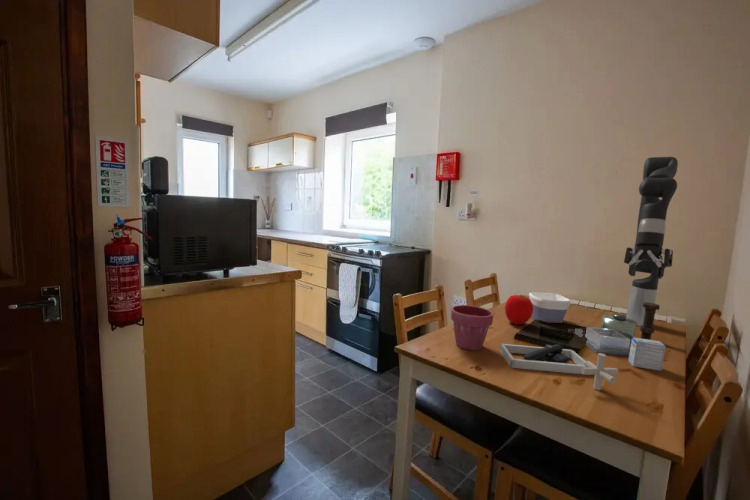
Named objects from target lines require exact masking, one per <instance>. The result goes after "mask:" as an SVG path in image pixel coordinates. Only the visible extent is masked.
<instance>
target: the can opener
mask: <svg viewBox="0 0 750 500" xmlns="http://www.w3.org/2000/svg"><path fill="white" fill-rule="evenodd" d="M543 347H544V348H541V349H538V350H535V351H533V352H530V353H528V354H523V356H522V358H523V360H533V361H544V362H547V361H549V362H555V363H566V364H567V363H568V362H569V360H570V358H569V357H567V356H566V355H565V354H563V353H561V352H562V350H563V349H564V348H563V346H562V345H561V344H557V343H556V344H552V345H551V344H545V345H544V346H543Z"/></svg>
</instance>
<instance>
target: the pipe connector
mask: <svg viewBox="0 0 750 500" xmlns="http://www.w3.org/2000/svg"><path fill="white" fill-rule="evenodd" d="M606 357H607V354H602V353H597V358H596V359H597V360H596V364H594V362H592V361H589V360H585V363H584V365H585V366H586V367H587V368H581V369H580V371H581V373H582V374H581V375H586V374H588V375H587V376H593V375H594V381H593V386H592V388H593V389H594V390H597V391H601V390H602V384H603V379H604V380H606V382H608V383H610V384H611V385H614V384H616V382H617V378H616V377H615V376H618V375H619V370H618V368H616V367H605V364H606Z"/></svg>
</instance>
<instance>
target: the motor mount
mask: <svg viewBox="0 0 750 500" xmlns="http://www.w3.org/2000/svg"><path fill="white" fill-rule="evenodd" d="M636 323H637V322H636V321H634V320H631V319H629V318H626V315H623V314H619V313H614V314H604V315H602V318H601V325H600V327H592V326H591V327H589V326H587V327H586V334H585V337H586V338H587V341H586V345H585V346H586V347H588V348H589V349H590V350H591V351H592V352H594V353H595V354H598V353H602V354H605V355H612V356H613V355H615V356H625V357H627V356H628V357H629V353H630V347H631V341H632V338H635V334H636V330H637V329H636V328H637V325H636ZM574 328H575V327H574ZM582 329H583V328H575V332H574V333H575V334H576V335H578V336H579V337H582V336H583V334H582V332H583V330H582Z"/></svg>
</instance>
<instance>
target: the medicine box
mask: <svg viewBox="0 0 750 500" xmlns="http://www.w3.org/2000/svg"><path fill="white" fill-rule="evenodd" d="M665 352H666V345H665V344H663V343H662V342H661V341H660V340H654V339H651V340H648V339H641V337H639V338H638V337H634V338H632V341H631V347H630V353H629V356H628V362H629V364H630V365H631V366H632V367H635V368H642V369H647V370H652V371H657V372H658V371H659V372H662V369H663V364H664V358H665Z"/></svg>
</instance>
